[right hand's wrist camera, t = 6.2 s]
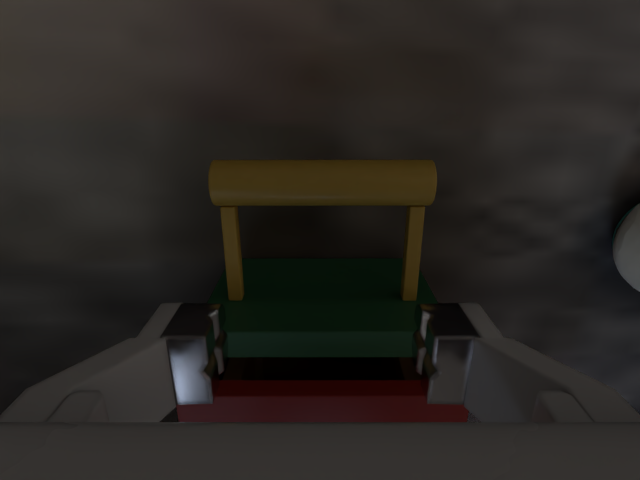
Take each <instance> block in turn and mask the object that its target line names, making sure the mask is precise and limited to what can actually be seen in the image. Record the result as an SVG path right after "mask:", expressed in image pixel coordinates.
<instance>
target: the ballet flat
mask: <svg viewBox="0 0 640 480" xmlns="http://www.w3.org/2000/svg"><path fill="white" fill-rule="evenodd" d="M612 250H613V259H614V262H615V265H616V268H617V270H618V271H619V273H620V275H621V276H622V277H623V278H624V279H625V280H626V281H627V282H628V283H629V284H630V285H631V286H632V287H633V288H634V289H636V290H638V291H639V292H640V203H639V204H637V205H636V206H634V207H633V208H632V209H630V210H629V211H628V212H627V213H626V214H625V215H624V216H623V218H622V219H621V220H620V221H619V223H618V225H617V227H616V229H615V231H614V234H613V238H612Z"/></svg>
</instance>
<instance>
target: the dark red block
mask: <svg viewBox="0 0 640 480" xmlns="http://www.w3.org/2000/svg"><path fill="white" fill-rule="evenodd" d="M229 358H230V357H227V363H226V366H225V369H224V372H222V373H221V374H220V375H219V382H220V384H219V387H218V390H217V393H216V396H215V399H214V402H213V404H186V405H176V408H177V414H178V420H179V422H467V418H468V412H469V411H468V410H467V409H466V408H465V407H464V405H453V404H427V401H426V399H425V396H424V393H423V390H422V387H421V384H420V382H421V380H222V379H223V376H224V373H225V370H226V367H227V364H228V361H229Z"/></svg>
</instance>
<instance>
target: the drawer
mask: <svg viewBox="0 0 640 480" xmlns="http://www.w3.org/2000/svg"><path fill="white" fill-rule="evenodd" d="M208 184H209V193H210V197H211V201H212V203H213V204H214V205H215V206H221V207H220V212H221V223H222V233H223V244H224V255H225V266H226V268H225V270H224V272H223V274H222V276H221V278H220V280H219V281H218V283H217V285H216V287H215V289H214V291H213V293H212V295H211V297H210V298H209V300H208V302H207V303H212V304H223V306H224V308H225V316H226V320H225V323H224V325H223V328H222V329H223V330H224V331H225V332H226V333H227V335H228V356H227V357H230V358H229V361H228V364H227V367H226V370H225V373H224V376H223V379H222V380H421V374H419V373H418V372H416V369H415V366H414V362H413V357H412V336H413V333H414V332H415V331H416V330H417V329H418V328H417V325H416V323H415V320H414V315H415V309H416V305H417V304H437V303H438V302H437V300H436V299H435V297H434V295H433V293H432V291H431V289H430V288H429V286H428V284H427V282H426V280H425V279H424V277H423V275H422V273H421V271H420V269H419V266H420V256H421V245H422V234H423V224H424V213H425V207H424V206H429V205H431V204H432V203H433V201H434V198H435V194H436V187H437V173H436V167H435V164H434V162H433V161H432V160H213V161H212V162H211V164H210V168H209V175H208ZM238 206H407V215H406V227H405V240H404V253H403V258H390V259H242V257H241V244H240V231H239V218H238Z"/></svg>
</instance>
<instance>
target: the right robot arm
mask: <svg viewBox="0 0 640 480" xmlns="http://www.w3.org/2000/svg"><path fill="white" fill-rule="evenodd" d="M225 320H226V316H225V308H224V306H223V304H212V303H162V304H161V305H160V306H159V307H158V309H157V310H156V311H155V313H154V314H153V315H152V317H151V318H150V319H149V321H148V322H147V323H146V325H145V326H144V327H143V329H142V330H141V331H140V333H139V334H138V335H137V337H136V338H128V339H126V340H124V341H122V342H120V343H118V344H116V345H114V346H112V347H110V348H108V349H106V350H104V351H102V352H100V353H98V354H96V355H94V356H92V357H90V358H88V359H86V360H84V361H82V362H80V363H78V364H76V365H74V366H72V367H69V368H67V369H65V370H63V371H61V372H59V373H57V374H55V375H53V376H51V377H49V378H47V379H45V380H43V381H41V382H39V383H37V384H35V385H33V386H31V387H29V388H27V389H25V390H24V392H23V393H22V394H21V395H20V396H19V397H18V398H17V399H16V400H15V401H14V402H13V403H12V404H11V405H10V406H9V407H8V408H7V409H6V410H5V411H4V412H3V413H2V414H1V415H0V480H640V415H639V414H638V413H637V412H636V411H635V410H634V409H633V408H632V407H631V406H630V405H629V404H628V402H627V401H626V400H625V399H624V398H623V397H622V396H621V395H620V394H619V393H618V392H617V391H616V390H615V389H613V388H611V387H609V386H607V385H605V384H603V383H601V382H599V381H597V380H595V379H593V378H591V377H589V376H587V375H585V374H583V373H581V372H578V371H576V370H574V369H572V368H570V367H568V366H566V365H564V364H562V363H560V362H558V361H556V360H554V359H552V358H550V357H548V356H546V355H544V354H542V353H540V352H538V351H536V350H534V349H532V348H530V347H528V346H526V345H524V344H522V343H520V342H518V341H516V340H514V339H512V338H504V337H503V335H502V334H501V333H500V331H499V330H498V329H497V327H496V326H495V325H494V323H493V322H492V321H491V319H490V318H489V317H488V315H487V314H486V313H485V311H484V310H483V309H482V307H481V306H480V305H479V304H478V303H437V304H417V305H416V309H415V315H414V320H415V323H416V325H417V328H418V329H417V330H416V331H415V332H414V333H413V336H412V357H413V362H414V366H415V369H416V372H418V373H419V374H421V382H420V384H421V387H422V390H423V393H424V396H425V399H426V401H427V404H453V405H464V407H465V408H466V409H467V410H468V411H469V412H471V413H472V414H473V415H474V416H475V417H476V418H477V419H478V420H479V421H481V422H160V421H161V420H162V419H163V418H164V417H165V416H166V415H168V414H169V413H170V412H171V411H172V410H173V409H174V408H175V407H176V405H186V404H213V402H214V399H215V396H216V393H217V390H218V387H219V384H220V382H219V375H220V374H221V373H222V372H224V369H225V366H226V363H227V356H228V335H227V333H226V332H225V331H224V330H223V329H222V328H223V325H224V323H225Z"/></svg>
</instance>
